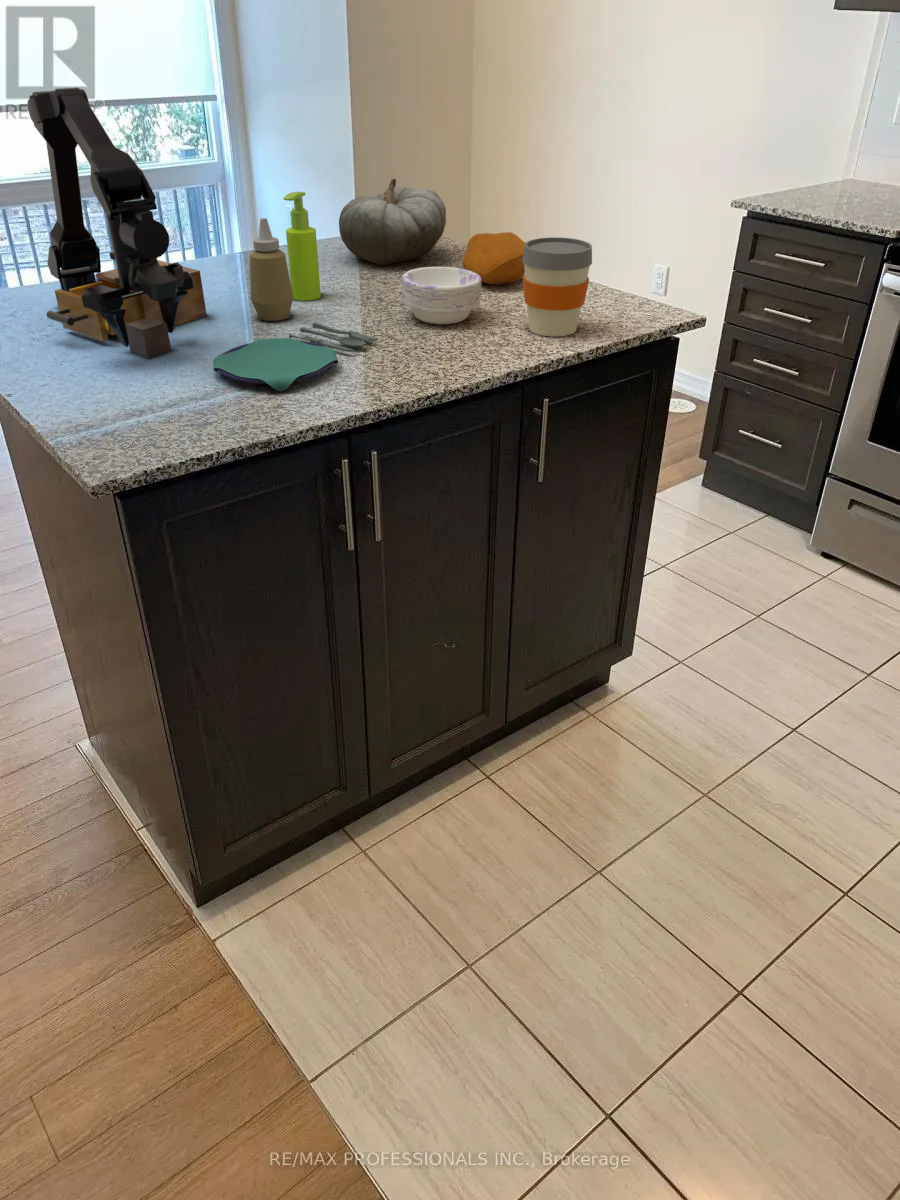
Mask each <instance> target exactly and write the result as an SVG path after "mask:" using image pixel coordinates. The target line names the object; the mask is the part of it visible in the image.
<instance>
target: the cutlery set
mask: <svg viewBox="0 0 900 1200" xmlns="http://www.w3.org/2000/svg"><path fill="white" fill-rule="evenodd" d="M312 328H313V329H311V328H307V327H305V326H303V327H300V328H299V330H300V333H303V334H304V333H305V334H311V335H316V336H319V337H323V338H327V339H330V340H334V341H336V342H339V343H340V345H337V344H332V343H328V342H326V341H325V342H324V341H323V339H322V338H320V339H318V338H316V337H315V338H308V337H302V336H298V335H295V334H292V333H290V334H289V335H288V337H273V338H262V339H256V340H253V341H252V342H249V343H245V344H242V345H238V346H236V347H232V348H230V349H229V350H227V351H225V352H222V353H220V354H219V355H217V356H215V357H214V359H213V360H212V361H213V364H212V367H213V368H212V370H213V371H214V372H219V373H220V374H221V375H222V376H223V377H227V378H229V379H232V380H234V381H239V382H244V383H250V384H262V385H263V384H267V385H268V386H270V387H271V388H272V389H274V390H276V391H278V392H280V393H282V392H284V391H286V389H288V388H289V387H290V386H291V385H292V384H293V382H298V381H302V380H307V379H310V378H313V377H316V376H318V375H321V374H324V372H326V371H328V370H329V369H331V368H332V367H333V365H335V364H337V363H338V362H339V359H338V356H337V353H336V351H335V350H338V351H343V352H348V353H350V352H351V353H353V352H355V349H353V348H359V347H362V346H364V345H366V344H367V342H368V343H374V342H376V341H378V340H379V338H375V337H371V336H369V335H365V334H363V333H360V332H359V331H353V330H352V329H351V330H342V329H341V330H340V329H337V328H333V327H330V326H328V325H325V324H321V323H319V322H313V323H312ZM315 329H318V330H315ZM319 330H321V331H319ZM322 331H324V332H325V331H326V332H328V333H333V334H335V335H347V336H348V337H339V338H338V337H335V336H333V335H329V334H326V333H324V332H322ZM298 339H299V340H298ZM341 345H342V346H341Z"/></svg>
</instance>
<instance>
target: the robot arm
mask: <svg viewBox="0 0 900 1200" xmlns="http://www.w3.org/2000/svg"><path fill="white" fill-rule="evenodd" d="M26 103H27V104H26V105H27V110H28V114H29V117H30V119H31V121H32V123H33V127H34V128H35V129H36V130H37V132H38V133H39V135H40V136H41V137H42V138H43V140H44V141H45V144H46V150H47V151H46V152H47V157H48V164H49V172H50V179H51V184H52V185H51V188H52V192H53V201H54V202H53V203H54V208H55V215H56V220H55V221H56V222H55V223H54V225H53V226H52V229H51V230H50V232H49V241H50V245H49V246H48V253H47V266H48V269H49V273H50V275H51V276H52V277H54V278H56V279H57V280H59V285H60V289H61V290H65V291H68V292H70V291H69V289H72V288H76V287H80V286H84V285H88V284H92V283H96V282H97V279H96V274H97V273H101V272H102V263H101V254H100V252H101V249H100V247H99V246H98V244H97V242H96V241H95V237H94V236H92V234H91V233H90V231H89V230H88V229H87V228H86V226H85V222H84V212H83V204H82V194H81V186H80V185H81V184H80V178H79V177H80V176H79V167H78V159H77V152H76V151H77V149H76V148H77V147H79V148H80V150H81V151H82V152H81V153H83V155H84V157H85V158H86V160H87V162H88V164H89V166H90V177H89V178H90V179H89V180H90V185H91V188H92V192H93V193H94V195H95V197H96V199H97V201H98V202H99V204H100V206H101V207H102V209H103V212H104V213H105V214H106V222H107V227H108V231H109V235H110V241H111V245H112V250H113V251H109V252H108V253H109V259H110V260H112V261H114V262H115V266H116V269H117V271H118V276H119V277H116V278H115V283H116V284H117V285H120V286H121V287H120V288H116V289H113V288H110V287H106V286H103V285H100V286H97V287H93V288H89V289H85V290H84V291H83V293H82V302H83V306H84V307H86V308H89V309H92V311H95V312H99V313H100V314H101V315H102V317H103V318H104V319H105V320H106V321H107V323H108V324H109V325H110V327H111V328H112V329H113V331H114V332H115V335H116V337H117V338H118V340H119V341H120V343H121V344H122V345H123V346H124V347H126V348H128V347H129V340H128V335H127V330H126V326H125V321H124V315H125V312H126V309H122V308H121V306H122V305H123V299H127V298H131V297H134V296H138V295H142V294H145V293H146V294H147V295H148V296H149V297H150V299H152V300H154V301H158V302H159V306H160V310H161V313H162V317H163V321H164V322H166V323H167V328H168V334H173V332H174V327H175V326H174V323H175V317H176V312H177V307H178V304H179V301H180V300H181V299H182V298H183V297H184V296H185V295H187V294H188V291H186V290H189V289H193V288H194V285H193V279H192V277H191V275H190V274H189V273H188V272H187V271H184V270H183V267H184V266H183V265H181V263H179V262H178V261H176V262H171V263H172V264H169V265H168V266H167V265H164V266H160V265H159V263H158V261H157V260H158V258H160V257H162V256H163V255H164V254H166V252H167V251H168V248H169V245H170V233H169V232H168V230H167V228H166V227H165V226H164V224H163V223H161V222H160V221H158V220H155V219H154V213H153V211H156V210H158V206H157V204H156V199H157V197H156V195H155V193H154V191H153V189H152V187H151V185H150V183H149V181H148V179H147V177H146V176H145V174H144V172H143V170H142V169H141V168H140V167H139V166H138V164H137V163H136V162H135V160H134V159H133V158H132V157H131V155H130V154H129V153H127V152H126V151H123V150H122V149H120V148H119V147H116V146H115V145H114V143H113V142H112V140H111V138H110V137H109V135H108V133H107V131H106V130H105V129H104V127H103V125H102V123H101V121H100V119H99V118H98V117H97V114H96V113H95V112H94V110H93V109H92V107H91V106H90V101H89V98H88V95H87V93H86V91H85V89H83V88H79V87H61V88H60V87H59V88H55V89H54V90H43V91H33V92H32V94H31V95H29V99H28V100H27V102H26ZM182 266H183V267H182ZM130 290H134V291H131V292H130Z"/></svg>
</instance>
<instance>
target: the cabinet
mask: <svg viewBox="0 0 900 1200" xmlns="http://www.w3.org/2000/svg"><path fill="white" fill-rule="evenodd" d="M157 261H158V263H159V265H160V266H164V265H167V266H168V265H169V264H172V263H173V262H167V261H163V260H159V259H157ZM181 266H182V267H183V270H184V271H187V272H188V273H189V274H190V275H191V277H192V279H193V285H194V288H193V289H189V290H186V291H188V294H187V295H185V296H184V297H183V298H182V299H181V300H180V301H179V304H178V307H177V312H176V317H175V323H174V327H176V326H179V325H183V324H186V323H189V322H191V321H195V320H198V319H202V318H205V317H208V314H207V309H206V302H205V295H204V288H203V282H202V276H201V271H200V270H198V269H195V268H191V267H187V266H183V265H181ZM116 277H119V276H118V271H117V268H113V269H110V270H105V271H101V272H100V273H98V272H97V273H95V278H96V281H97V282H100V281H104V280H105V281H108V282H111V283H115V278H116ZM115 284H116V283H115ZM139 296H140V301H141V307H142V312H143V317H144V318H148V317H150V318H153V319H156V320H159V321H163V317H162V313H161V310H160V306H159V302H158V301H154V300H152V299H150V297H149V296H148V295H147V294H146V293H145V294H142V295H139ZM163 322H164V321H163Z"/></svg>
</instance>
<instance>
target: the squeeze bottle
mask: <svg viewBox="0 0 900 1200" xmlns="http://www.w3.org/2000/svg"><path fill="white" fill-rule="evenodd" d="M252 243H253V251H252V252H251V253H250V254H249V278H250V281H249V282H250V286H249V287H250V301H251V303H252V306H253V308H254V310H255V312H256V314H257V316H258V318H259V319H260V320H263V321H267V322H268V321H270V322H273V321H274V322H275V321H282V320H285V319H288V318H289V317H290V314H291V309H292V305H293V301H294V299H293V293H292V287H291V279H290V271H289V268H288V267H289V266H288V261H287V258H286V253H285V252H284V251H283V250H282V249H280V242H279V238H277V237H274V236H273V233H272V230H271V227H270V225H269V221H268V219H267V217H260V219H259V228H258V237H255V238H254V239H253V241H252Z"/></svg>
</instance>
